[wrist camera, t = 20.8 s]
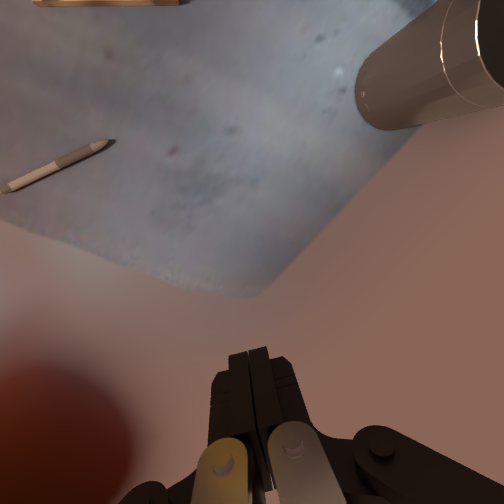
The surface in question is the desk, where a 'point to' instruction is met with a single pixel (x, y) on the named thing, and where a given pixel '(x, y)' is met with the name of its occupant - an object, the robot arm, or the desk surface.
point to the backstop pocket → (103, 3)
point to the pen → (53, 166)
